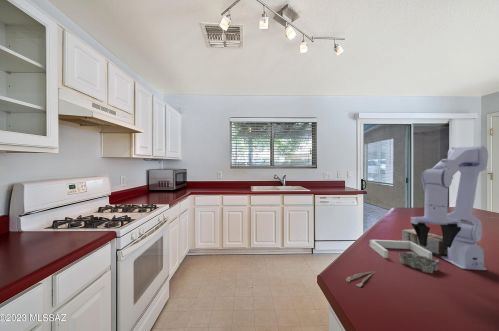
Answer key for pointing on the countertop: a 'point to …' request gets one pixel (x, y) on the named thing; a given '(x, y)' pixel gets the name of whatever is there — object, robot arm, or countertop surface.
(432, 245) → the coffee box
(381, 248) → the white l-shaped bracket
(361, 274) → the tweezers
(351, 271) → the countertop surface
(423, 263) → the egg carton
